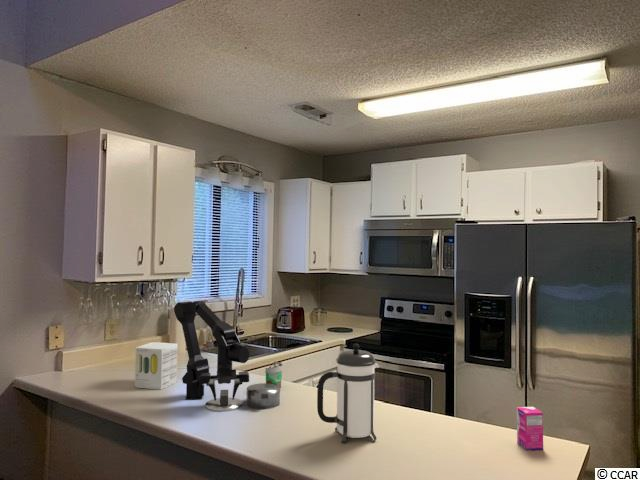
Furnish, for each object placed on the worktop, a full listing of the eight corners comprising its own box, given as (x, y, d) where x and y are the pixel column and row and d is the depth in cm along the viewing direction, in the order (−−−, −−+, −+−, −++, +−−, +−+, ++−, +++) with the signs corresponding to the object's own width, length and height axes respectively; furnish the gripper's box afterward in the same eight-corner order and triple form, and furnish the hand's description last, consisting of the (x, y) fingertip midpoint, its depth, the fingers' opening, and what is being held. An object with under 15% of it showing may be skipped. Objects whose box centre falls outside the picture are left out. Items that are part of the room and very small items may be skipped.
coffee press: (347, 423, 164) (348, 337, 165) (387, 435, 154) (387, 343, 155) (315, 438, 151) (316, 344, 152) (356, 452, 141) (357, 351, 142)
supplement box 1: (133, 387, 205) (134, 347, 205) (151, 379, 217) (152, 341, 218) (161, 390, 201) (162, 348, 202) (177, 381, 214) (178, 343, 215)
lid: (204, 413, 174) (204, 399, 174) (206, 401, 188) (206, 388, 188) (242, 411, 177) (243, 397, 177) (242, 399, 191) (242, 386, 191)
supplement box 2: (516, 443, 149) (516, 406, 150) (534, 442, 150) (534, 406, 150) (525, 450, 144) (525, 412, 144) (544, 450, 144) (544, 412, 144)
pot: (247, 411, 176) (247, 394, 176) (245, 397, 192) (245, 383, 192) (281, 409, 178) (282, 393, 179) (277, 396, 194) (277, 381, 195)
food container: (278, 392, 200) (279, 368, 200) (265, 391, 201) (265, 368, 201) (286, 384, 212) (287, 362, 212) (273, 383, 213) (273, 361, 213)
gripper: (198, 365, 173) (197, 408, 173) (250, 363, 177) (249, 405, 176) (200, 358, 184) (199, 398, 184) (248, 357, 188) (248, 396, 187)
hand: (224, 400), depth 183 cm, fingers open, 6 cm apart
